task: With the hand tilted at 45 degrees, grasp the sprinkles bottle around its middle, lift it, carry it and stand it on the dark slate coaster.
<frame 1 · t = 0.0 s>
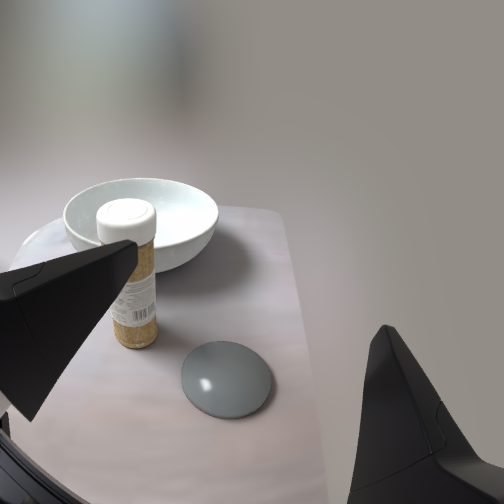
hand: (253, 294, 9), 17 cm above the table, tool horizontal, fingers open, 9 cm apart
serving bowl: (140, 249, 38), on the table
sprinkles bottle: (136, 333, 26), on the table
coaster: (225, 380, 24), on the table
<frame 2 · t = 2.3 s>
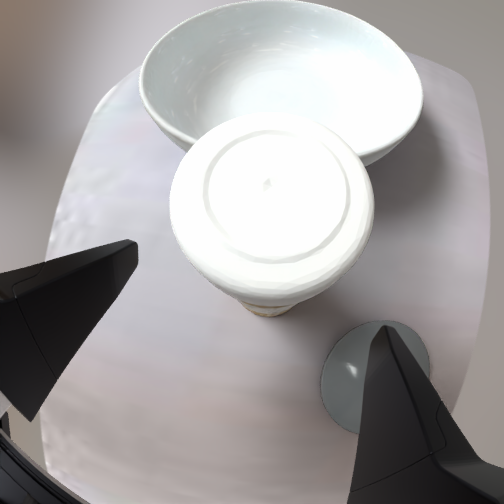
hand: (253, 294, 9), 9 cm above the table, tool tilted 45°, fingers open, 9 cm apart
serving bowl: (280, 108, 23), on the table
sprinkles bottle: (268, 283, 19), on the table
coaster: (376, 378, 17), on the table
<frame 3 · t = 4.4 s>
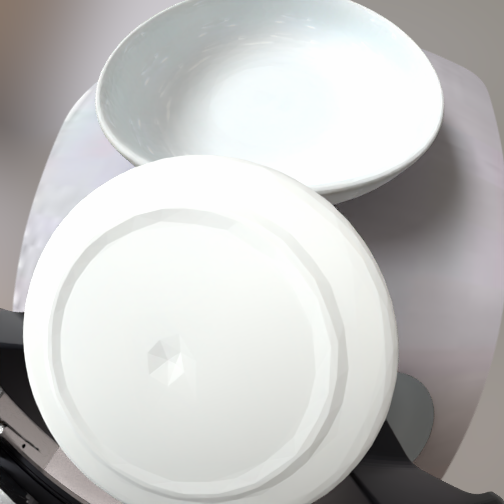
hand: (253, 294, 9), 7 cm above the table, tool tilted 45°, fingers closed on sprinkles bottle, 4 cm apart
serving bowl: (269, 111, 19), on the table
sprinkles bottle: (250, 329, 16), on the table, touching gripper
coaster: (373, 431, 13), on the table
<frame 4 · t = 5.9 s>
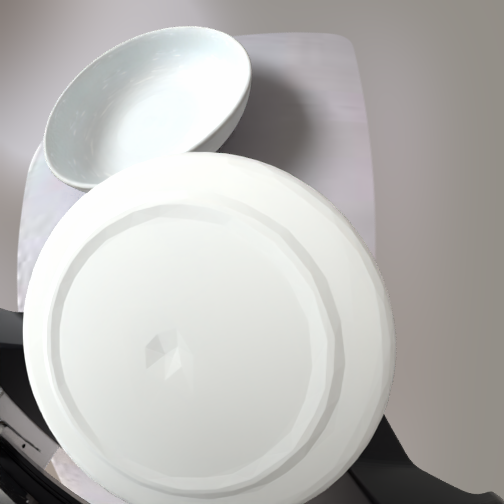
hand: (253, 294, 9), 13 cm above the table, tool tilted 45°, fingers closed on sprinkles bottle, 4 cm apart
serving bowl: (157, 128, 27), on the table
sprinkles bottle: (250, 328, 16), point 6 cm above the table, touching gripper
when the fingers open (8 cm above the table, at t = 7.6 s): sprinkles bottle stays where it is, resting on coaster.
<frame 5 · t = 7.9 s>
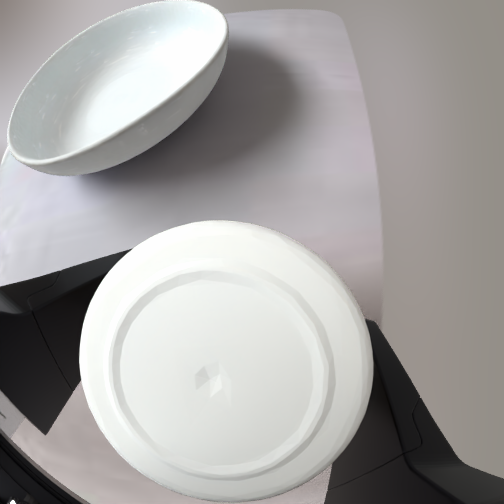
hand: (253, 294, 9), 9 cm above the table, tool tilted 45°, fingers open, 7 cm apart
serving bowl: (129, 106, 23), on the table
sprinkles bottle: (252, 333, 17), point 1 cm above the table, touching coaster
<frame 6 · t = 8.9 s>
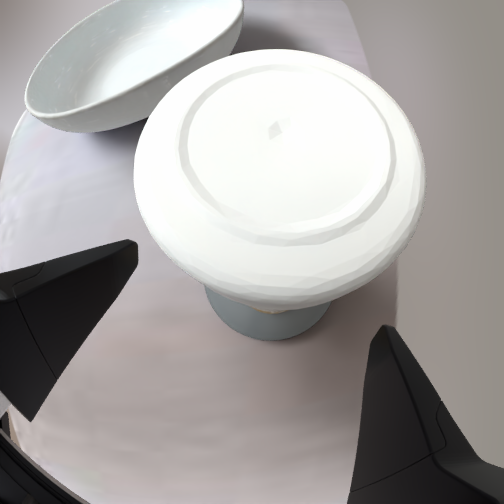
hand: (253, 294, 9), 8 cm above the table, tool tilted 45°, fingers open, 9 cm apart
serving bowl: (145, 77, 23), on the table
sprinkles bottle: (271, 276, 17), point 1 cm above the table, touching coaster
coaster: (270, 273, 17), on the table
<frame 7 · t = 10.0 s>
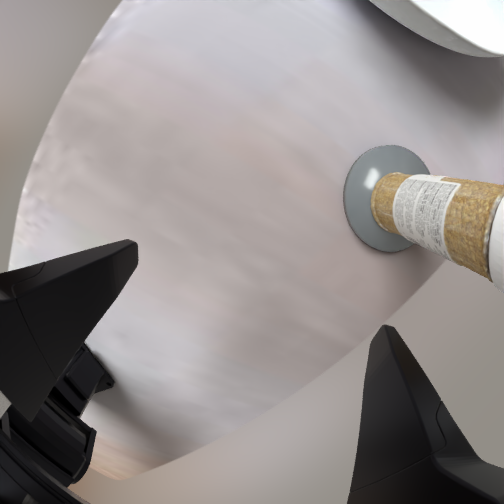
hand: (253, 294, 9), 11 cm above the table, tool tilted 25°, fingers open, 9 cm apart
sprinkles bottle: (392, 202, 19), point 1 cm above the table, touching coaster
coaster: (390, 198, 19), on the table
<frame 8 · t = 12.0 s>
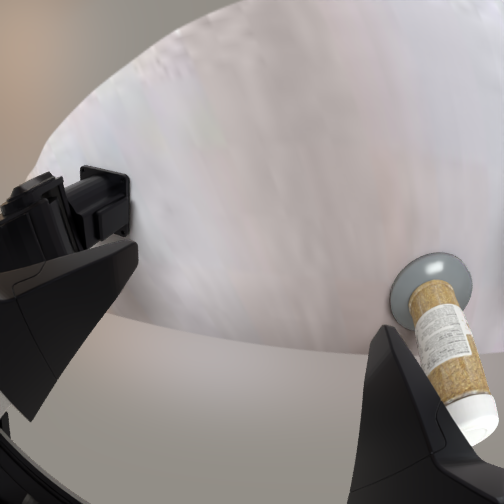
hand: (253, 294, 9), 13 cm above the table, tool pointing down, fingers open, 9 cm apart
sprinkles bottle: (430, 297, 21), point 1 cm above the table, touching coaster
coaster: (431, 292, 21), on the table
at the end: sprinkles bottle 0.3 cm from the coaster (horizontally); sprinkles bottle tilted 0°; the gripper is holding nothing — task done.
